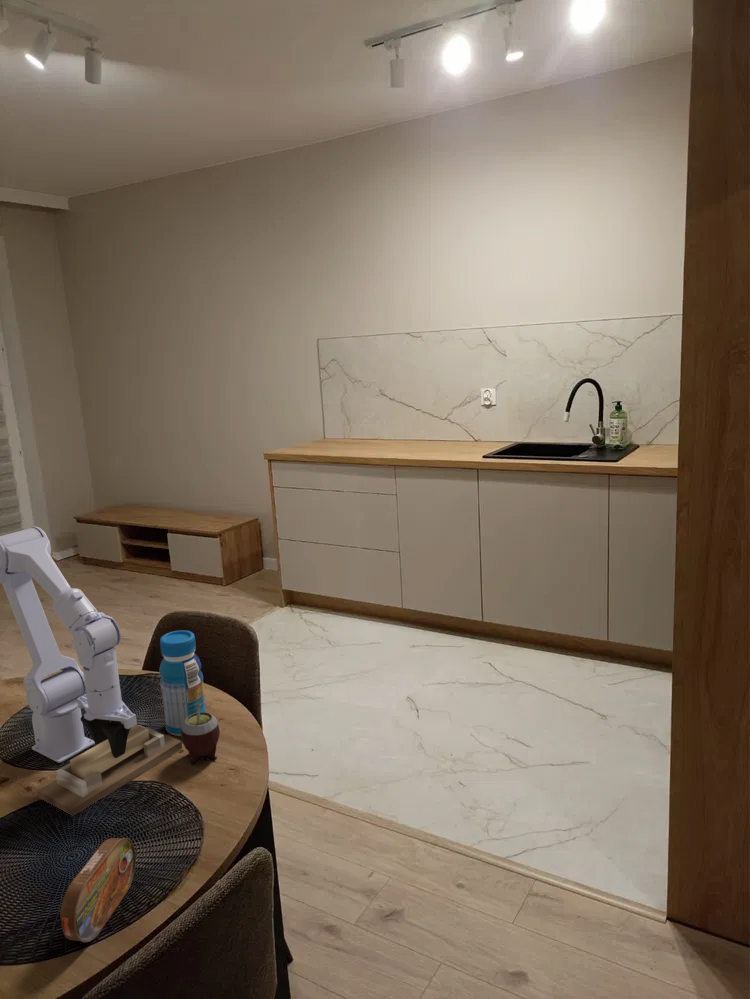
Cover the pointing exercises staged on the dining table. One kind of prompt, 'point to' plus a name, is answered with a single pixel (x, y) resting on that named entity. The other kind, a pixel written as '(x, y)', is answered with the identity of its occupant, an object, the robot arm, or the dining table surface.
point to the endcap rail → (106, 776)
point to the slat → (107, 754)
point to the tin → (98, 889)
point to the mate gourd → (200, 735)
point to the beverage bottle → (180, 679)
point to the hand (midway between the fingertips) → (111, 751)
